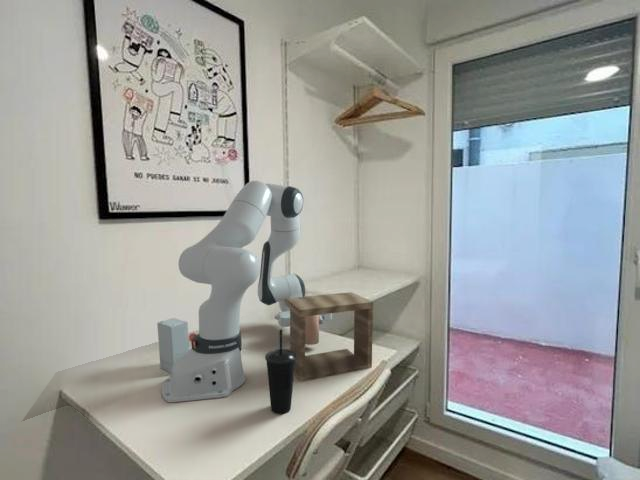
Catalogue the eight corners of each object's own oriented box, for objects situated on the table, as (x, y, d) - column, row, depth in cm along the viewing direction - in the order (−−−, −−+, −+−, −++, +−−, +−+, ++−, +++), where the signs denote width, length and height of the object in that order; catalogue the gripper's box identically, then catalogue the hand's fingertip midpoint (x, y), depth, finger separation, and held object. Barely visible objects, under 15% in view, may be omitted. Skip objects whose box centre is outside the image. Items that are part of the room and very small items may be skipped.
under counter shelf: (299, 381, 100) (300, 310, 98) (285, 362, 113) (285, 298, 111) (371, 367, 109) (373, 301, 108) (350, 350, 122) (351, 292, 120)
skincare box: (191, 368, 108) (189, 321, 106) (172, 375, 103) (171, 326, 102) (176, 361, 113) (174, 316, 112) (158, 367, 108) (156, 321, 107)
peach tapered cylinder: (307, 345, 120) (307, 311, 119) (302, 340, 125) (302, 307, 124) (321, 343, 122) (321, 309, 121) (315, 338, 127) (315, 306, 126)
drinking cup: (298, 401, 90) (298, 325, 88) (293, 418, 82) (293, 336, 80) (269, 399, 90) (269, 324, 89) (261, 416, 83) (261, 335, 81)
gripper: (273, 307, 130) (284, 318, 118) (323, 302, 138) (338, 311, 126) (273, 323, 131) (284, 336, 118) (322, 317, 139) (338, 328, 126)
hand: (312, 323), depth 122 cm, fingers closed on peach tapered cylinder, 5 cm apart
